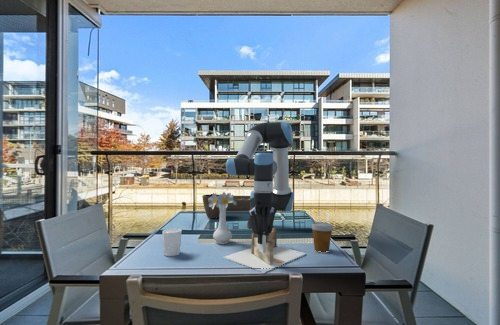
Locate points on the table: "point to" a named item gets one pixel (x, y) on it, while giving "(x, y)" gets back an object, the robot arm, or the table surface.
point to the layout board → (251, 260)
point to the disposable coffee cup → (322, 236)
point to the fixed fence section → (270, 239)
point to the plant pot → (208, 210)
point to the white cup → (171, 241)
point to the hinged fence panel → (268, 254)
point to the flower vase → (222, 216)
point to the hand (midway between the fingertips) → (262, 251)
